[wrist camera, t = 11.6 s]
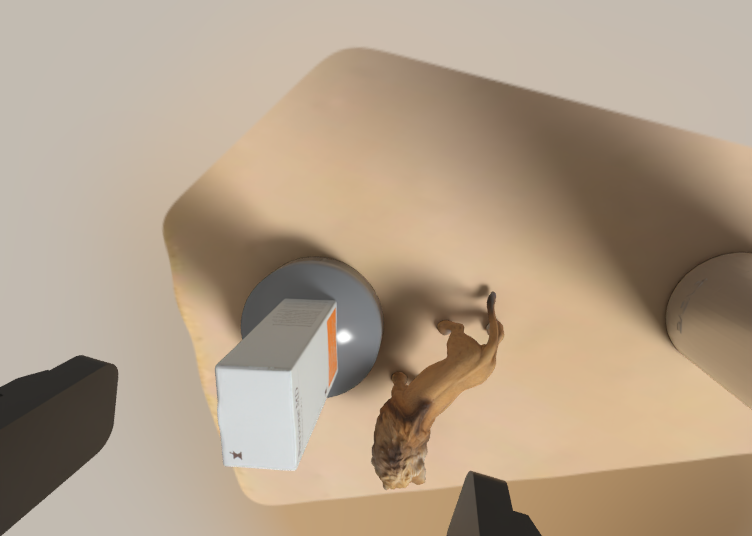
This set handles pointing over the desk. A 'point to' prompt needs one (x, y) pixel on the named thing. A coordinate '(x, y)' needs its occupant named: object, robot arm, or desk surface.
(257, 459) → the skincare box
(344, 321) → the grey rounded flat disc
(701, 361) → the robot arm
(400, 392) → the lion figurine
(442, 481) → the desk surface
